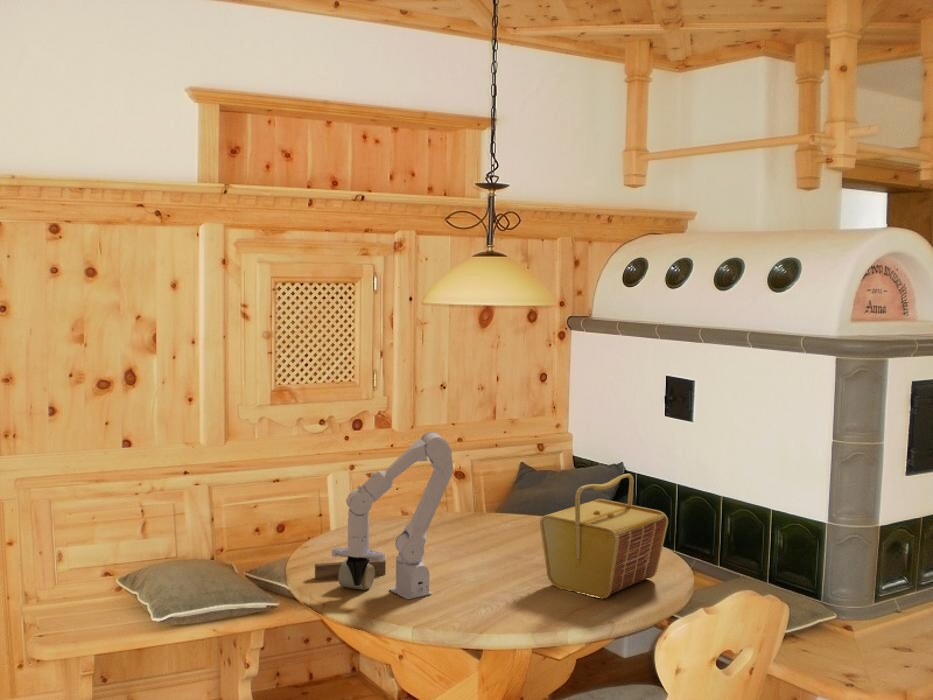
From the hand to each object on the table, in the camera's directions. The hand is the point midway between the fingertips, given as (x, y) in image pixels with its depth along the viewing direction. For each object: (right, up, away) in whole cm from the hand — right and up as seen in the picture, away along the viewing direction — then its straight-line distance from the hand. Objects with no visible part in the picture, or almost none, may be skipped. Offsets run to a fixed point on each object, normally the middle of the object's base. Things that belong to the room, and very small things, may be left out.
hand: (357, 584), depth 270 cm
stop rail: (-4, -1, +16) cm, 17 cm away
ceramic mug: (-1, -2, +7) cm, 8 cm away
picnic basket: (+68, -3, +15) cm, 70 cm away
